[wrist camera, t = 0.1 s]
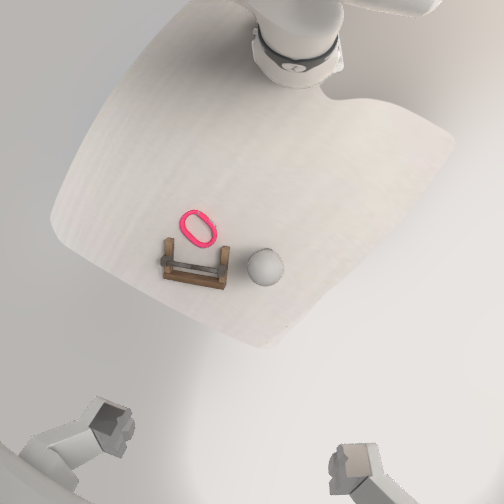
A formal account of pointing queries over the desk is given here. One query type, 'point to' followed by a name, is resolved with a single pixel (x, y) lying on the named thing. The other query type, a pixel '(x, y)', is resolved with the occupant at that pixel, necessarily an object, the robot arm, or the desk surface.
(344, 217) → the desk surface
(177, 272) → the wooden bar clamp
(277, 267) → the lightbulb
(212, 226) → the fitness band
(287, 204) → the desk surface
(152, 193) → the desk surface
